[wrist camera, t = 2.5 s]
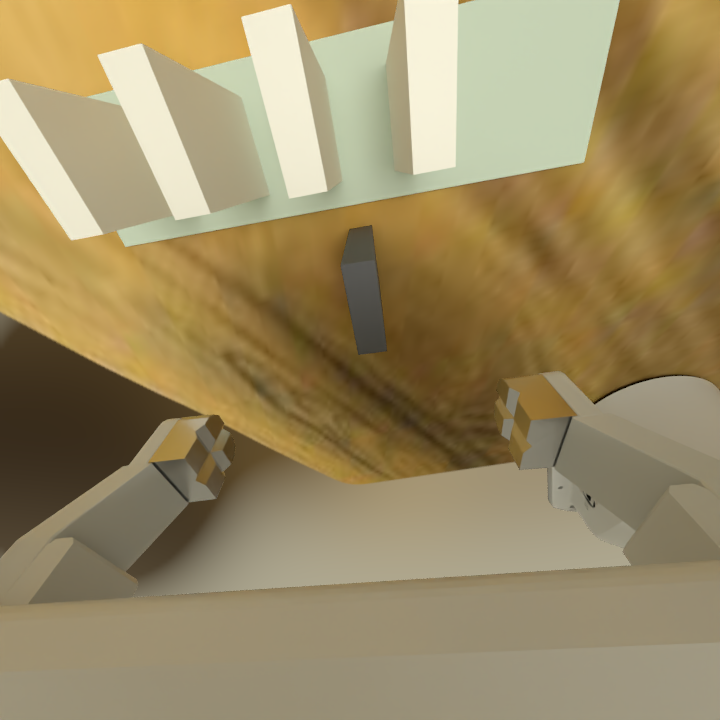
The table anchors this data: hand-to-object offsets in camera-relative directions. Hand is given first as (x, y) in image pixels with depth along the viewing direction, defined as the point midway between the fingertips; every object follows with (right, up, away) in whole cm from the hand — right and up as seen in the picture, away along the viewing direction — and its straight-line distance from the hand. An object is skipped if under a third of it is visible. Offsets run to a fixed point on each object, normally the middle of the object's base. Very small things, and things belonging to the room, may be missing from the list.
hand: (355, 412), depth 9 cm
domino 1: (-12, +14, +10) cm, 21 cm away
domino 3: (-2, +15, +9) cm, 18 cm away
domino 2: (-7, +15, +10) cm, 19 cm away
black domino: (+1, +9, +14) cm, 16 cm away
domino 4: (+3, +16, +9) cm, 18 cm away
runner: (-2, +15, +9) cm, 18 cm away
